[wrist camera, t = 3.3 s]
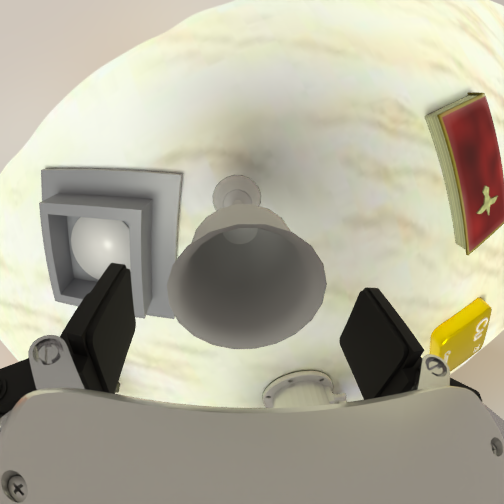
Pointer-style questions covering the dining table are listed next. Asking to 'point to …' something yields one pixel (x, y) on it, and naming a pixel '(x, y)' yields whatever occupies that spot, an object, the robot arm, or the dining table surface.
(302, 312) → the chalice
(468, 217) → the hardcover book
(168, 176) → the housing
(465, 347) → the element tile
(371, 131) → the dining table surface
